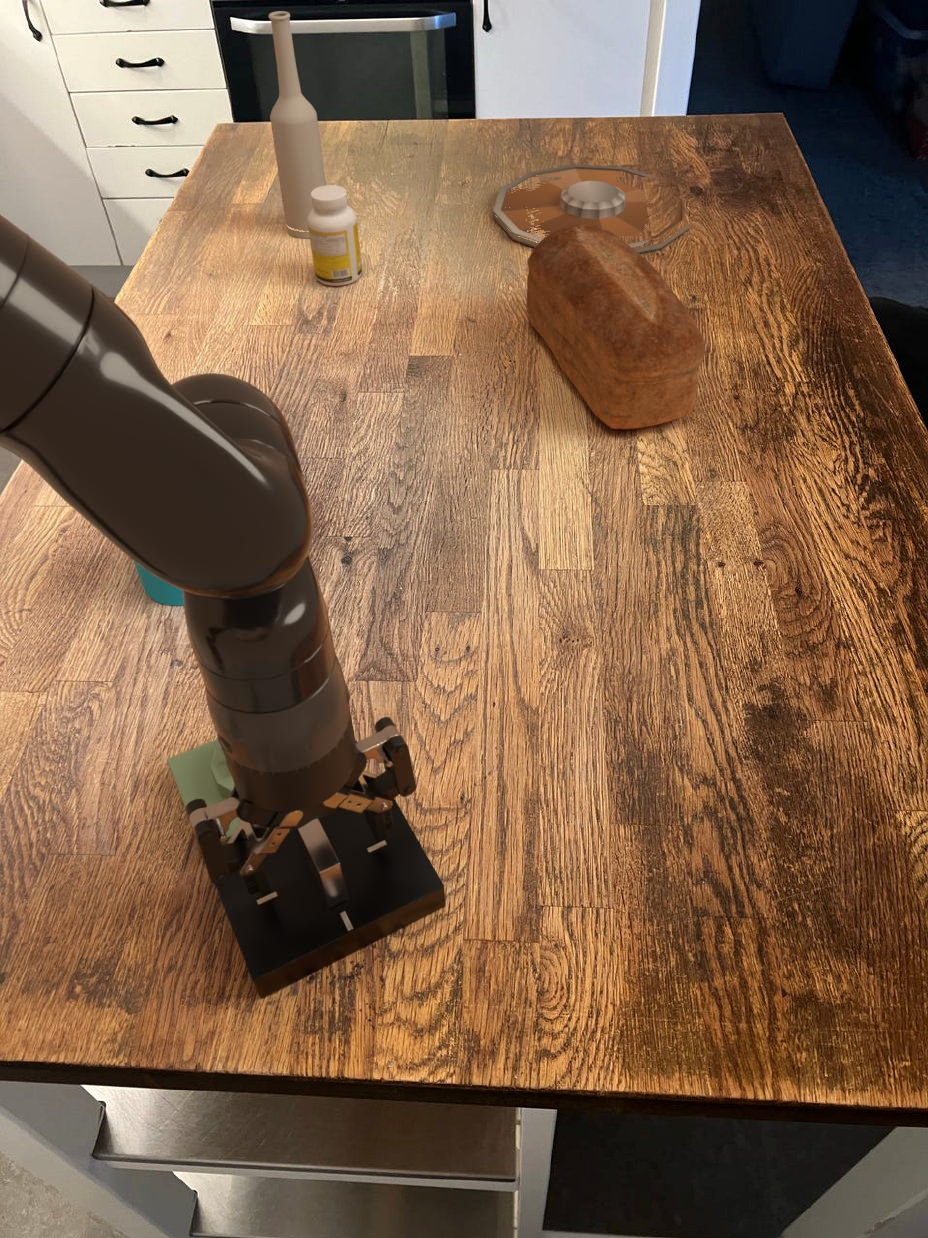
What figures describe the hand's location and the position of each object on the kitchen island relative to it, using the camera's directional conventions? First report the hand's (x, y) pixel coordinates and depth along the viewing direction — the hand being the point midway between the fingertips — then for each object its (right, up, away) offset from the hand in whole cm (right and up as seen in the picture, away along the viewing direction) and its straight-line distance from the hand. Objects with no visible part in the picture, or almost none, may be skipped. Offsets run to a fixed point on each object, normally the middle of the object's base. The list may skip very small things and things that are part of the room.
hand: (320, 857), depth 66 cm
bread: (+27, +47, +50) cm, 74 cm away
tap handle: (0, -1, +1) cm, 2 cm away
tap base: (0, -3, +4) cm, 5 cm away
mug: (-15, +20, +26) cm, 36 cm away
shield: (+29, +78, +79) cm, 115 cm away
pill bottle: (-7, +64, +67) cm, 93 cm away
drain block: (-6, +3, +10) cm, 12 cm away
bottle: (-13, +75, +77) cm, 108 cm away
